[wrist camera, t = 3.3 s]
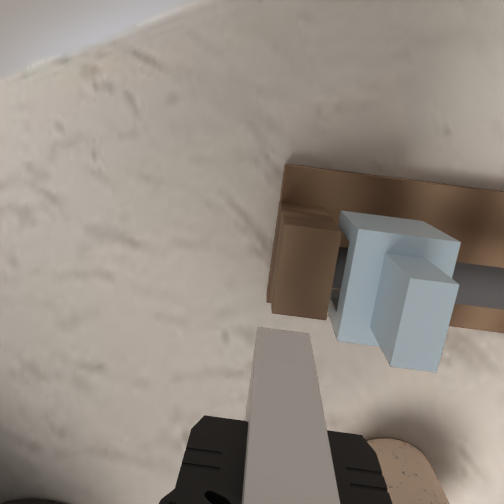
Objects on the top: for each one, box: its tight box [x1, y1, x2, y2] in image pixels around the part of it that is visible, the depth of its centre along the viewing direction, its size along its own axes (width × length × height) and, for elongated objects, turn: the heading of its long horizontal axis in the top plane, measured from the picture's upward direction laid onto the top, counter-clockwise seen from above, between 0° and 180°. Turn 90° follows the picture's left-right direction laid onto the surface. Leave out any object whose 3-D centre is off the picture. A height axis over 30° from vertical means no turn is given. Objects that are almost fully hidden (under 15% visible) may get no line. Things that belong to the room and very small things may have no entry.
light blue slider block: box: [328, 211, 461, 373], centre depth 23 cm, size 5×6×10 cm
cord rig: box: [267, 164, 504, 333], centre depth 28 cm, size 25×10×10 cm, turn 83°
